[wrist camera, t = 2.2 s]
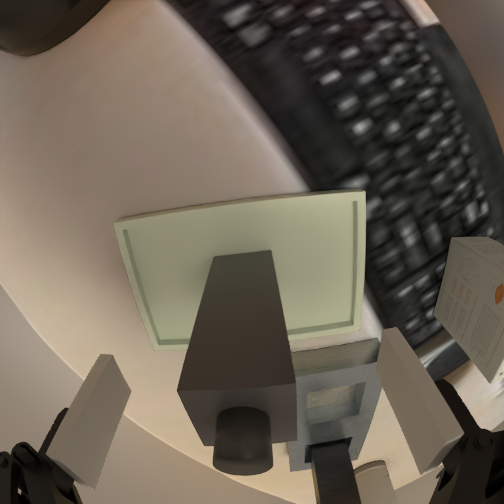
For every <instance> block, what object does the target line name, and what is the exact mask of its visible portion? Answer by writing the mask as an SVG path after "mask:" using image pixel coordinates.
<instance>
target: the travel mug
mask: <svg viewBox="0 0 504 504" xmlns="http://www.w3.org/2000/svg"><path fill="white" fill-rule="evenodd" d="M354 474H355V478H356V482H357V486H358V491H359V495H360V499H361V503H362V504H398V503H397V500H396V496H395V493H394V489H393V486H392V483H391V480H390V477H389V473H388V470H387V467H386V464H385V462H384V461H375V462H371V463H367V464H365V465H363V466H360V467H359V468H357V469H355V470H354Z"/></svg>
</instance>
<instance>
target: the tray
mask: <svg viewBox="0 0 504 504" xmlns="http://www.w3.org/2000/svg"><path fill="white" fill-rule="evenodd" d="M113 225H114V229H115V233H116V237H117V241H118V244H119V248H120V252H121V255H122V259H123V262H124V266H125V269H126V272H127V276H128V279H129V282H130V285H131V288H132V292H133V295H134V298H135V301H136V303H137V306H138V309H139V312H140V315H141V318H142V320H143V323H144V326H145V329H146V331H147V334H148V336H149V339H150V341H151V344H152V347H153V349H154V351H164V350H187V349H188V345H189V341H190V338H191V334H192V330H193V327H194V323H195V320H196V316H197V312H198V309H199V305H200V302H201V298H202V295H203V291H204V288H205V284H206V281H207V277H208V274H209V271H210V267H211V264H212V261H213V257H214V256H222V255H230V254H239V253H248V252H256V251H265V250H271V251H272V256H273V261H274V266H275V271H276V276H277V281H278V286H279V292H280V297H281V302H282V307H283V313H284V318H285V323H286V329H287V334H288V340H289V341H294V340H302V339H309V338H316V337H322V336H328V335H334V334H340V333H346V332H352V331H357V330H360V324H361V314H362V302H363V289H364V272H365V246H366V198H365V191H364V190H361V189H359V188H357V189H342V190H330V191H318V192H307V193H296V194H286V195H277V196H268V197H259V198H251V199H243V200H235V201H227V202H220V203H212V204H205V205H198V206H192V207H185V208H179V209H172V210H166V211H160V212H154V213H148V214H143V215H137V216H131V217H126V218H121V219H119V220H117V221H116V222H114V223H113Z"/></svg>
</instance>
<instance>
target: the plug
mask: <svg viewBox="0 0 504 504" xmlns="http://www.w3.org/2000/svg"><path fill="white" fill-rule="evenodd" d="M177 392H178V394H179V397H180V399H181V401H182V403H183V405H184V407H185V409H186V411H187V413H188V416H189V418H190V420H191V422H192V424H193V426H194V427H195V429H196V431H197V433H198V435H199V437H200V439H201V441H202V443H203V445H204V446H214V453H213V466H214V467H215V468H216V469H217V470H219V471H221V472H224V473H227V474H232V475H241V476H248V475H256V474H261V473H264V472H266V471H268V470H270V469H271V468H272V467H273V453H272V443H282V442H291V441H297V392H296V379H295V373H294V368H293V362H292V356H291V351H290V345H289V340H288V334H287V329H286V323H285V318H284V313H283V307H282V302H281V297H280V292H279V286H278V281H277V276H276V271H275V266H274V261H273V256H272V251H271V250H265V251H256V252H248V253H239V254H230V255H222V256H214V257H213V261H212V264H211V267H210V271H209V274H208V277H207V281H206V284H205V288H204V291H203V295H202V298H201V302H200V305H199V309H198V312H197V316H196V320H195V323H194V327H193V330H192V334H191V338H190V341H189V345H188V349H187V353H186V357H185V360H184V364H183V368H182V372H181V376H180V380H179V384H178V388H177Z"/></svg>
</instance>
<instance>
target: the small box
mask: <svg viewBox="0 0 504 504" xmlns="http://www.w3.org/2000/svg"><path fill="white" fill-rule="evenodd" d="M433 315H434V316H435V318H436V319H437V320H438V321H439V322H440V323H441V324H442V325H443V326H444V328H445V329H446V330H447V331H448V332H449V333H450V335H451V336H452V337H453V338H454V339H455V340H456V342H457V343H458V344H459V345H460V346H461V348H462V349H463V350H464V351H465V352H466V354H467V355H468V356H469V357H470V359H471V360H472V361H473V363H474V364H475V365H476V366H477V368H478V369H479V370H480V371H481V373H482V374H483V375H484V377H485V378H486V379H487V381H488V382H489V383H490V384H491V383H494V382H496V381H498V380H500V379H502V378H504V245H502V244H500V243H498V242H496V241H494V240H492V239H491V238H489V237H452V238H451V240H450V246H449V252H448V257H447V262H446V266H445V271H444V275H443V279H442V284H441V288H440V291H439V295H438V299H437V303H436V306H435V310H434V313H433Z"/></svg>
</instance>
